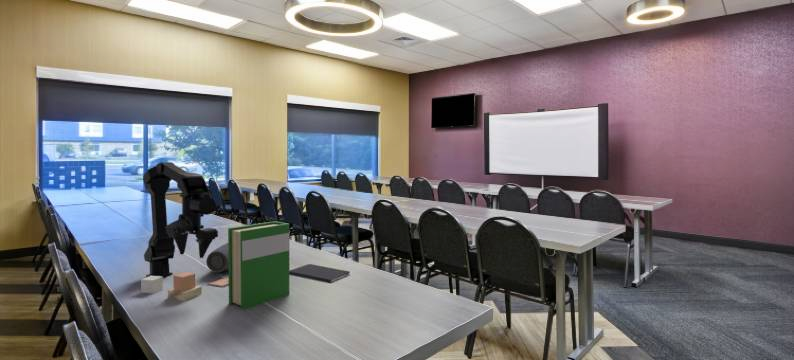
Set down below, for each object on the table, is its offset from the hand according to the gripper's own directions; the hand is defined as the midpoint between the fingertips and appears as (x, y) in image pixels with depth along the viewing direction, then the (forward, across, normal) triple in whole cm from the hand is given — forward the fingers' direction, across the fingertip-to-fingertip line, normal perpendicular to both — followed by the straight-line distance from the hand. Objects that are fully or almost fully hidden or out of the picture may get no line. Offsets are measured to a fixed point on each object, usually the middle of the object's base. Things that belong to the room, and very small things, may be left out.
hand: (191, 256), depth 144 cm
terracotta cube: (+9, +4, -6) cm, 11 cm away
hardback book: (+11, +28, +3) cm, 30 cm away
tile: (+11, +5, +9) cm, 15 cm away
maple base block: (+12, +4, -6) cm, 14 cm away
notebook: (+12, +29, +35) cm, 47 cm away
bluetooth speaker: (+12, -9, +26) cm, 30 cm away
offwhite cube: (+12, -10, -7) cm, 17 cm away
